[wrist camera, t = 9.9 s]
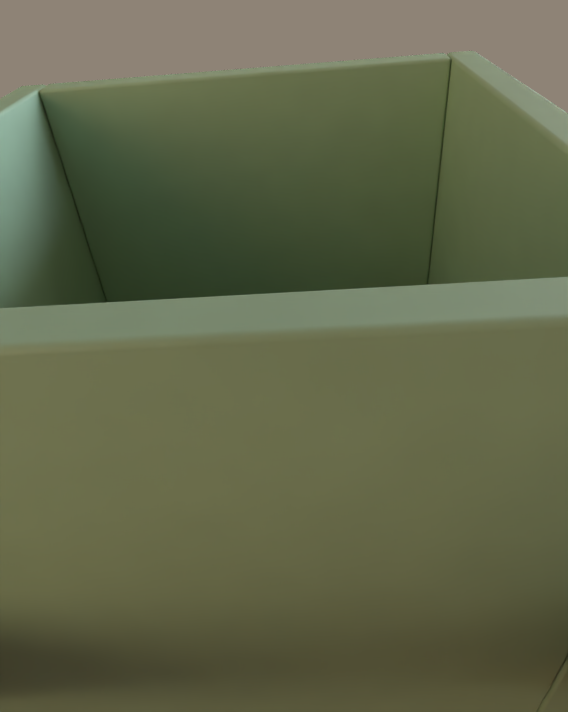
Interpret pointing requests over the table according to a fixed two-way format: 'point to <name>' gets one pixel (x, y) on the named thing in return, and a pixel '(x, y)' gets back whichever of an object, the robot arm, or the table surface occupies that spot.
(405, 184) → the green basket
